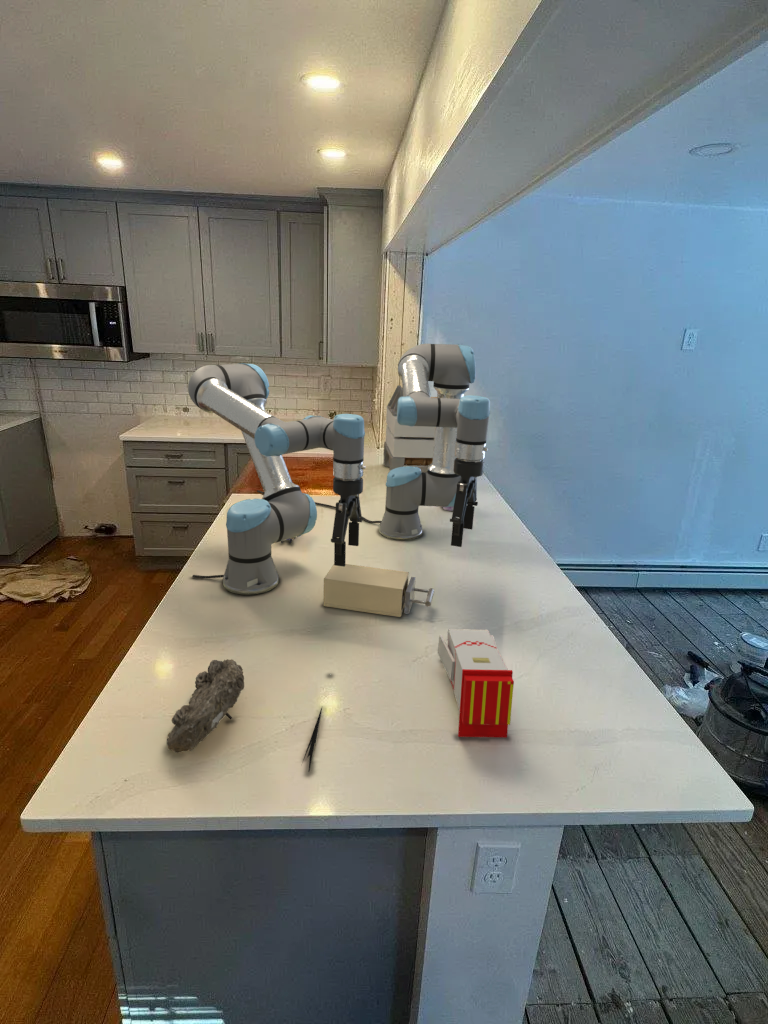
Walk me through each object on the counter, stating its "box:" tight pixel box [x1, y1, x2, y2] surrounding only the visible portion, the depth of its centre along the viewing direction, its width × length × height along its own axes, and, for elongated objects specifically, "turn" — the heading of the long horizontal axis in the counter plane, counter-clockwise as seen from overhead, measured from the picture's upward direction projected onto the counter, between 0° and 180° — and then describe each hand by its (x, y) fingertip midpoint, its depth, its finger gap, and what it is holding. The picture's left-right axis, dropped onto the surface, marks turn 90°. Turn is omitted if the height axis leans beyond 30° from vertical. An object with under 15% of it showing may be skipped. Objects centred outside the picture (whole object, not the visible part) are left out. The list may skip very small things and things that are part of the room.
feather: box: [301, 673, 332, 771], centre depth 108 cm, size 2×28×2 cm
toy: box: [437, 628, 515, 738], centre depth 117 cm, size 12×13×30 cm
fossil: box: [166, 658, 245, 754], centre depth 106 cm, size 22×10×15 cm
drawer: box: [402, 576, 435, 615], centre depth 150 cm, size 25×9×6 cm, turn 78°
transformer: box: [383, 384, 437, 472], centre depth 268 cm, size 34×33×41 cm
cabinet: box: [323, 563, 410, 618], centre depth 151 cm, size 21×10×8 cm, turn 78°
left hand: (346, 555), depth 149 cm, fingers open, 13 cm apart
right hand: (461, 537), depth 150 cm, fingers open, 13 cm apart
